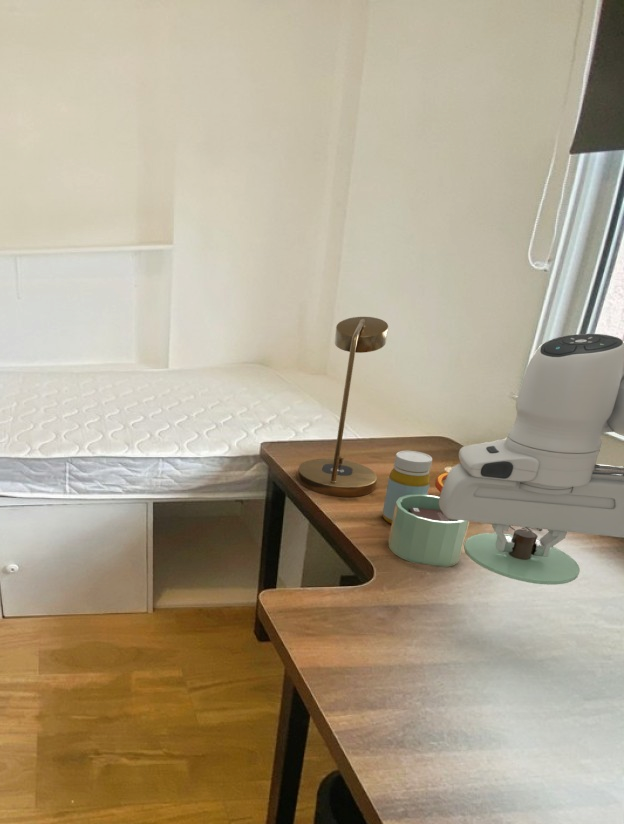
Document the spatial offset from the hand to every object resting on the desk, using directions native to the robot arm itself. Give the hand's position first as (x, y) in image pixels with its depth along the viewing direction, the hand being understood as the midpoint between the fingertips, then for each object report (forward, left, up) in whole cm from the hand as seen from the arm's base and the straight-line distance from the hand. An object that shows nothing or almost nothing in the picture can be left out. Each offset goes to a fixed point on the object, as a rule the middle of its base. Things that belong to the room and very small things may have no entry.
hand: (520, 551), depth 77 cm
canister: (+4, -27, -17) cm, 32 cm away
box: (+4, -27, -17) cm, 32 cm away
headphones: (-11, -49, -17) cm, 53 cm away
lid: (0, 0, -1) cm, 1 cm away
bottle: (+6, -39, -17) cm, 43 cm away
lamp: (+17, -61, -17) cm, 65 cm away
